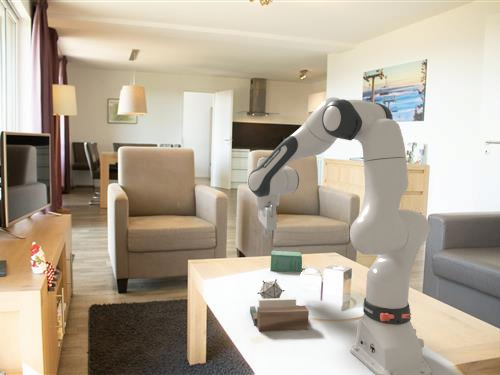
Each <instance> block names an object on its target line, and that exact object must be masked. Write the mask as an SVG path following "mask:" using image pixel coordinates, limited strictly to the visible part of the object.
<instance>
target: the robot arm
mask: <svg viewBox="0 0 500 375" xmlns="http://www.w3.org/2000/svg"><path fill="white" fill-rule="evenodd" d="M337 139H340V140H347V141H352V140H357V142H359V143H360V145H361V147H362V158H363V170H364V171H363V174H364V196H363V201H362V205H361V208H360V211H359V214H358V215H357V217H356V218H355V220H353V222H352V224H351V225H350V229H349V237H350V238H349V239H350V242H351V245H352V246H353V248H354V249H355V250H356V251H357V252H358V253H360V254H361V255H369V256H377V257H376V258H375V260H374V262H373V264H372V265H370V267H369V268H368V270H367V273H366V285H365V286H366V288H365V290H366V291H365V297H364V298H363V304H362V306H363V310H362V311H363V313H364V314H362V317H361V318H360V319H359V321H358V322H357V327H356V328H357V329H356V337H355V344H354V345H352V346H351V347H350V353H351V354H353V355H354V356H355V357H356V358H357V359H359V360H360V362H362V363H363V364H364V365H365V366H366V367H367V368H369V369H370V370H371V371H372V372H373V373H374V374H376V375H432V369H431V368H430V366H429V364H428V363H427V361H426V360H425V358H424V357H423V348H424V346H425V344H424V343H425V341H424V340H423V339H422V338H418V335H417V330H416V328H414V327H413V325H412V322H411V319H412V317H411V315H412V314H411V313H412V312H411V309H410V308H411V307H410V304H409V295H410V294H409V293H410V281H411V277H412V276H411V275H412V271H413V268H414V265H415V263H416V262H415V261H416V259H417V257H418V254H419V251H420V250H421V247H422V246H423V245H424V243H425V242H426V241H427V240H428V238H429V236H430V233H431V232H430V231H431V227H430V222H429V221H428V218H426V217H425V215H424V214H423V213H421V212H419V211H416V210H410V209H400V203H401V200H402V198H403V196H404V194H405V193H406V191H408V188H409V179H408V178H409V176H408V175H409V174H408V165H407V155H406V154H407V153H406V147H405V143H404V137H403V133H402V129H401V127H400V124H399V123H398V122H397V121H396V120H393V114H392V112H391V109H389V107H387V106H386V105H384V104H382V103H379V102H371V101H366V100H362V99H345V98H344V99H340V98H338V97H333V96H332V97H328V98H326V99H324V100H323V101H322V102H321V103H320V104H319V105H318V106H317V107H315V109H314V110H313V111H312V112H311V114H310V115H309V116H308V117H307V119H306V120H305V121H304V123H302V125H301V126H299V128H298V129H296V130H295V131H294V132H293V133H292V134H290V135H289V136H288V137H286V138H284V139H283V140H282V142H280V143H279V145H277V147H276V148H274V150H273V151H271V153H270V154H269V155H267V156H262V157H259V159H258V161H257V164H256V167H254V169H252V171H251V172H250V174H249V176H248V179H247V184H248V188H249V189H250V191H251V192H252V193H253V195H255V200H254V201H255V206H256V207H257V208H256V209H257V218H258V221H259V222H260V223H261V225H262V229H263V236H264V238H265V239H269V238H270V235H271V234H270V233H271V231H276V229H277V223H278V222H277V207H278V206H280V198H281V195H289V194H293V193H295V192H296V191H297V190H298V188H299V185H300V177H299V173H298V172H297V170H296V169H295V168H293V167H290V166H288V164H290V163H292V162H294V161H296V160H299V159H303V158H309V157H314V156H318V155H322V154H323V153H325V152H327V150H329V149H330V148H331V147H332V145H333V144H335V142H336V141H337Z"/></svg>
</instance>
